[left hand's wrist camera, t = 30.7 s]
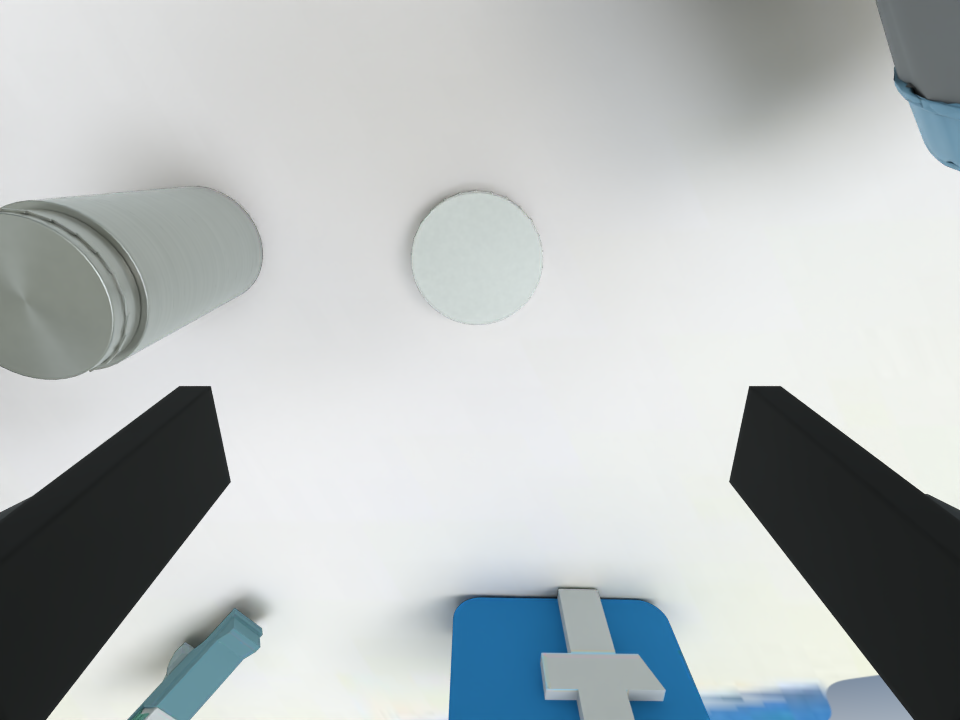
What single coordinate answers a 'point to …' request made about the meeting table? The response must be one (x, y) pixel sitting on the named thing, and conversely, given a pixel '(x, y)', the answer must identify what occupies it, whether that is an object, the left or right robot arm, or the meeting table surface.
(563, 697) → the logo
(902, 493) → the left robot arm
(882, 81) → the meeting table surface
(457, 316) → the lid
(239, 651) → the toy gun
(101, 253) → the jar
